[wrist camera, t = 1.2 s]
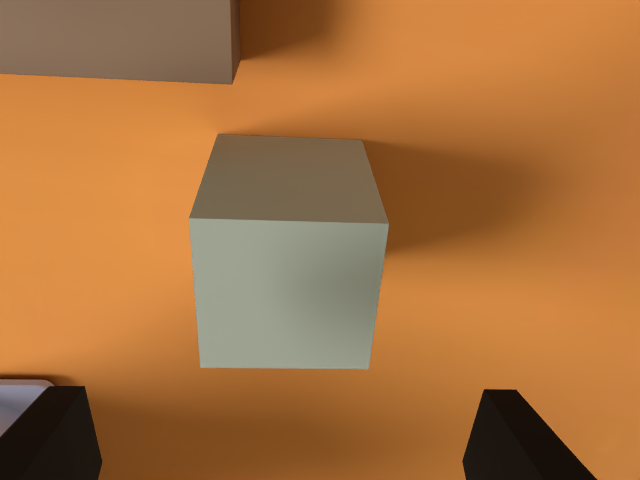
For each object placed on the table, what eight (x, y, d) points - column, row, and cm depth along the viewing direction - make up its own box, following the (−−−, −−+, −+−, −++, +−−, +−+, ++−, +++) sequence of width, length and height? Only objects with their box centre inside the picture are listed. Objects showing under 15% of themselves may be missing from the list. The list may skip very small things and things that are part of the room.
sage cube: (349, 258, 19) (368, 368, 15) (222, 256, 19) (200, 367, 14) (361, 139, 17) (388, 223, 12) (217, 133, 17) (188, 218, 12)
